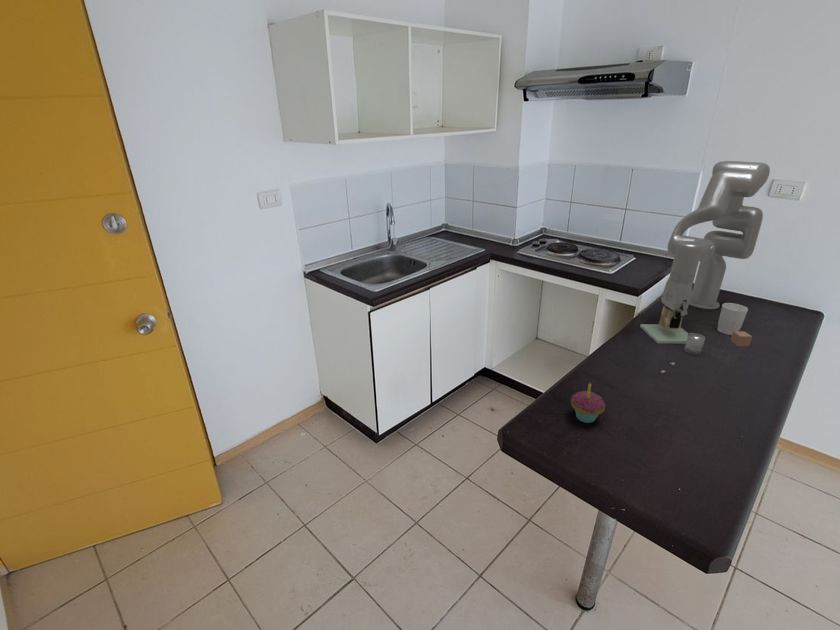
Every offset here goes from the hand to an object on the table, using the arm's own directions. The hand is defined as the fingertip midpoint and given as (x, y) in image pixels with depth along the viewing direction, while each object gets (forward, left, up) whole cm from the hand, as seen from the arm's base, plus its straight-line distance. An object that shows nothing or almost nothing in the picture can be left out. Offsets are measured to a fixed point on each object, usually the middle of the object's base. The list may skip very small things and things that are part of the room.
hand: (669, 324), depth 161 cm
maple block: (0, 0, -1) cm, 1 cm away
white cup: (-3, +24, -5) cm, 25 cm away
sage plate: (0, 0, -4) cm, 4 cm away
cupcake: (+50, -47, -5) cm, 69 cm away
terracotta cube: (+7, +22, -5) cm, 24 cm away
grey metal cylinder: (+13, +2, -5) cm, 14 cm away
